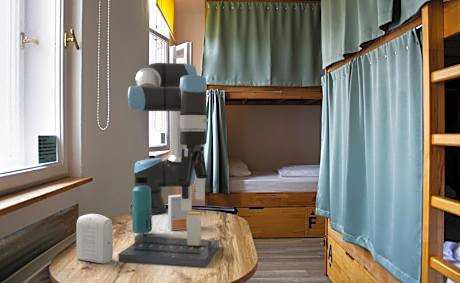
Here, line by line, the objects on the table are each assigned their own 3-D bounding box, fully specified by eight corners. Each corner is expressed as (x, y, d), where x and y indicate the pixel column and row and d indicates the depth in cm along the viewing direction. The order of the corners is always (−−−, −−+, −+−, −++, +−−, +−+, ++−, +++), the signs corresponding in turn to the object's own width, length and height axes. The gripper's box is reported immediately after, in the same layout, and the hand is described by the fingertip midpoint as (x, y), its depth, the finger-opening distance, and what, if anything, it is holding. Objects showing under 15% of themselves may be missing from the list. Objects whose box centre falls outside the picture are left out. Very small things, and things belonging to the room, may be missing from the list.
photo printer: (115, 259, 92) (114, 214, 92) (104, 265, 88) (103, 217, 88) (86, 254, 96) (85, 211, 95) (73, 260, 92) (73, 214, 91)
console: (144, 242, 106) (144, 229, 106) (219, 246, 102) (219, 233, 102) (118, 261, 91) (118, 246, 90) (205, 267, 86) (205, 251, 86)
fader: (189, 242, 98) (188, 211, 98) (201, 243, 98) (200, 211, 98) (186, 245, 96) (186, 213, 96) (199, 245, 96) (198, 213, 95)
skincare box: (171, 231, 119) (170, 197, 119) (168, 228, 123) (167, 195, 123) (187, 229, 121) (187, 195, 121) (184, 226, 125) (184, 194, 125)
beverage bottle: (147, 239, 110) (146, 177, 110) (128, 237, 111) (127, 177, 111) (155, 233, 116) (155, 175, 116) (137, 232, 118) (137, 174, 117)
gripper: (193, 131, 83) (193, 216, 84) (216, 130, 108) (216, 196, 109) (164, 130, 85) (165, 214, 86) (193, 130, 109) (193, 195, 110)
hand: (193, 204), depth 97 cm, fingers open, 13 cm apart
